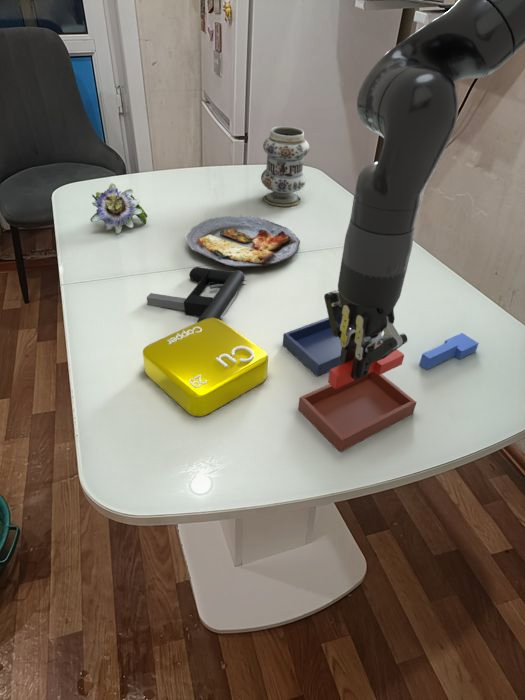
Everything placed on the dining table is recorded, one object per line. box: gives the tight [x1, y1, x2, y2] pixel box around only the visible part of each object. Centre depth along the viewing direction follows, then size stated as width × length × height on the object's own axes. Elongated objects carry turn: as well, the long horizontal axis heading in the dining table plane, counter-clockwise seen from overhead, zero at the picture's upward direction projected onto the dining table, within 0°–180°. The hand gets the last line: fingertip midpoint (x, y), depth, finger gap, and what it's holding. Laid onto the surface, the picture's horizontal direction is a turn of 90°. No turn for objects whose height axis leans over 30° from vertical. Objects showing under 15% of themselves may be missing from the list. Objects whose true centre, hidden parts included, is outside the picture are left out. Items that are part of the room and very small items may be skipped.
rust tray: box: [297, 371, 417, 453], centre depth 75 cm, size 14×10×2 cm
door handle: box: [146, 266, 247, 323], centre depth 97 cm, size 3×20×16 cm
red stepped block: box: [327, 344, 405, 389], centre depth 70 cm, size 11×4×2 cm, turn 123°
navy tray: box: [282, 316, 383, 377], centre depth 87 cm, size 14×10×2 cm
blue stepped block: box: [418, 332, 480, 371], centre depth 86 cm, size 11×4×2 cm, turn 123°
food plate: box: [185, 215, 301, 269], centre depth 115 cm, size 25×23×4 cm
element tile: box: [142, 318, 269, 417], centre depth 80 cm, size 15×15×5 cm
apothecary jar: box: [260, 125, 310, 208], centre depth 133 cm, size 12×12×18 cm
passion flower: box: [89, 182, 148, 235], centre depth 120 cm, size 11×11×12 cm
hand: (352, 371), depth 70 cm, fingers closed on red stepped block, 1 cm apart
